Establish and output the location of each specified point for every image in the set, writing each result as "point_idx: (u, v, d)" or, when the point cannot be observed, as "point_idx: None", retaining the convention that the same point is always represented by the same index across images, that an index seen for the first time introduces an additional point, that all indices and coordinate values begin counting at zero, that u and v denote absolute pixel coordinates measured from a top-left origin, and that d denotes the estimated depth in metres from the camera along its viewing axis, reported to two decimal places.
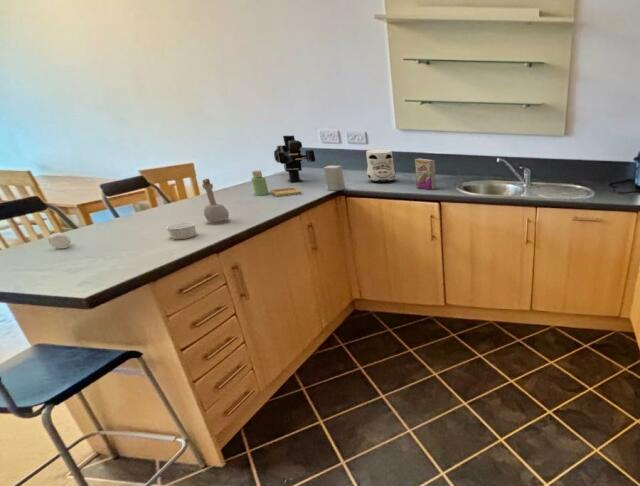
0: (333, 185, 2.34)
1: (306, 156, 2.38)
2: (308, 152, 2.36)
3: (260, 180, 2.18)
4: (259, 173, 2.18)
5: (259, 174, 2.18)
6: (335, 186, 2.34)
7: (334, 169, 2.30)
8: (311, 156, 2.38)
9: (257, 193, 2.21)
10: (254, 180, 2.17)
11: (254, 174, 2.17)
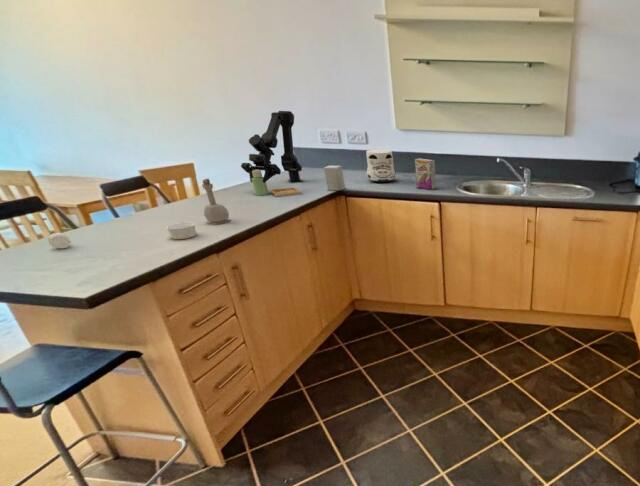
0: (333, 185, 2.34)
1: None
2: (266, 170, 2.19)
3: (260, 180, 2.18)
4: (259, 173, 2.18)
5: (259, 174, 2.18)
6: (335, 186, 2.34)
7: (334, 169, 2.30)
8: (271, 172, 2.21)
9: (257, 193, 2.21)
10: (254, 180, 2.17)
11: (254, 174, 2.17)
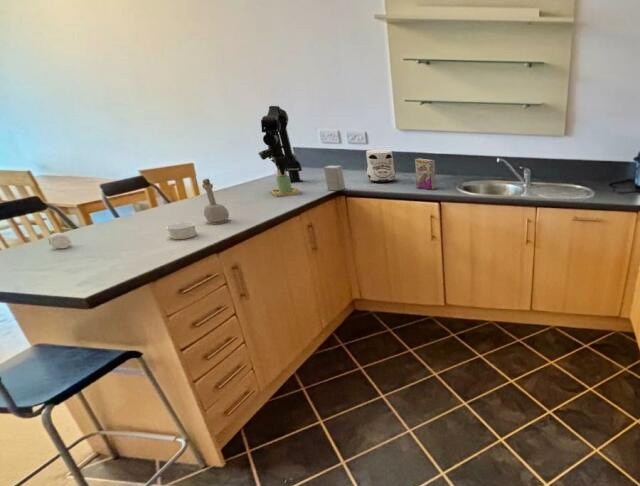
0: (333, 185, 2.34)
1: None
2: (276, 164, 2.16)
3: (287, 178, 2.23)
4: (285, 171, 2.22)
5: (285, 172, 2.22)
6: (335, 186, 2.34)
7: (334, 169, 2.30)
8: (281, 163, 2.16)
9: (283, 191, 2.24)
10: (281, 179, 2.21)
11: (280, 173, 2.21)
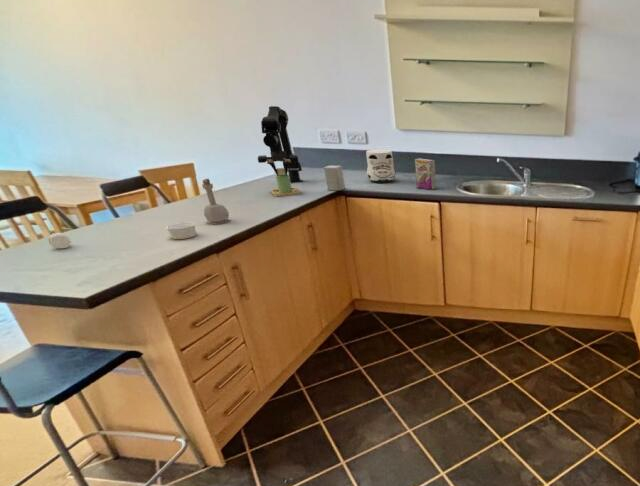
0: (333, 185, 2.34)
1: None
2: (287, 164, 2.20)
3: (286, 178, 2.22)
4: None
5: None
6: (335, 186, 2.34)
7: (334, 169, 2.30)
8: None
9: (283, 191, 2.24)
10: (281, 178, 2.21)
11: None
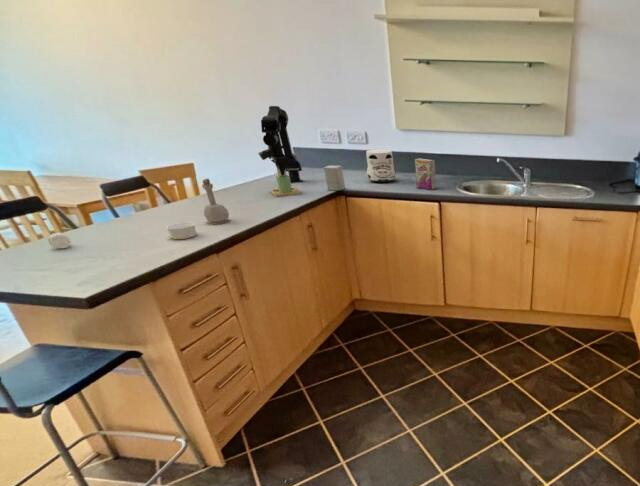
0: (333, 185, 2.34)
1: None
2: (276, 164, 2.16)
3: (287, 178, 2.23)
4: None
5: None
6: (335, 186, 2.34)
7: (334, 169, 2.30)
8: (281, 163, 2.16)
9: (283, 191, 2.24)
10: (281, 179, 2.21)
11: None
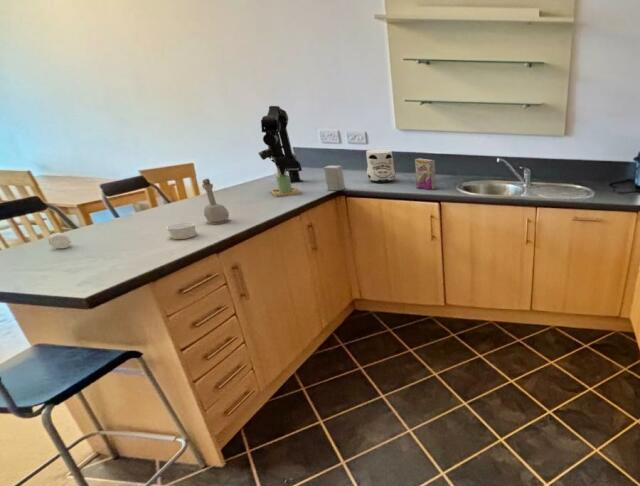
0: (333, 185, 2.34)
1: None
2: (276, 164, 2.16)
3: (287, 178, 2.23)
4: (277, 171, 2.21)
5: (277, 172, 2.21)
6: (335, 186, 2.34)
7: (334, 169, 2.30)
8: (281, 163, 2.16)
9: (283, 191, 2.24)
10: (281, 179, 2.21)
11: None
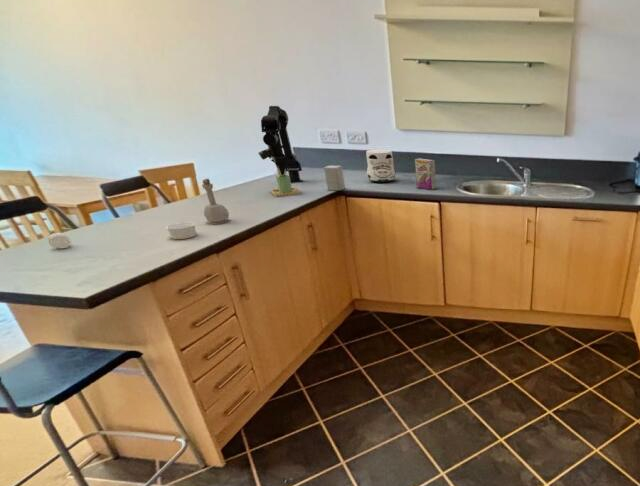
0: (333, 185, 2.34)
1: None
2: (276, 163, 2.16)
3: (287, 178, 2.23)
4: None
5: None
6: (335, 186, 2.34)
7: (334, 169, 2.30)
8: (281, 163, 2.16)
9: (283, 191, 2.24)
10: (281, 179, 2.21)
11: (277, 172, 2.21)
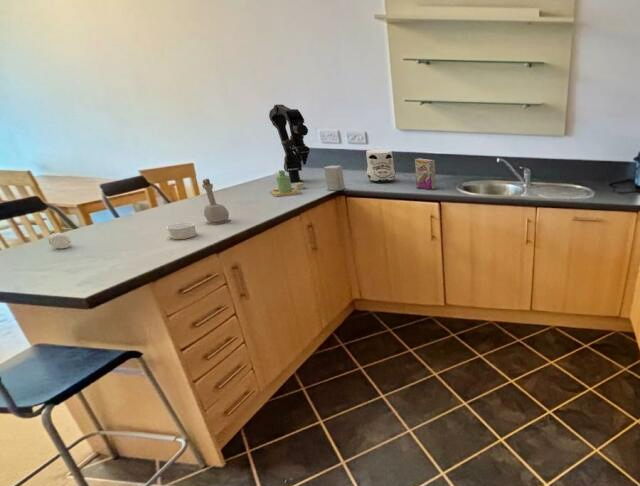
0: (333, 185, 2.34)
1: None
2: (298, 153, 2.29)
3: (287, 178, 2.23)
4: None
5: (303, 186, 2.38)
6: (335, 186, 2.34)
7: (334, 169, 2.30)
8: (303, 153, 2.29)
9: (283, 191, 2.24)
10: (281, 178, 2.21)
11: (300, 186, 2.36)
